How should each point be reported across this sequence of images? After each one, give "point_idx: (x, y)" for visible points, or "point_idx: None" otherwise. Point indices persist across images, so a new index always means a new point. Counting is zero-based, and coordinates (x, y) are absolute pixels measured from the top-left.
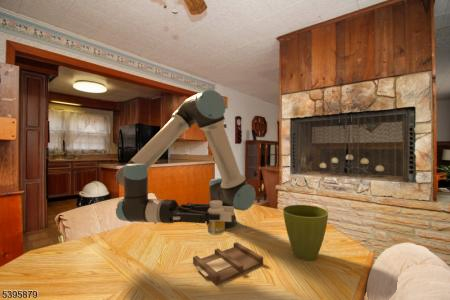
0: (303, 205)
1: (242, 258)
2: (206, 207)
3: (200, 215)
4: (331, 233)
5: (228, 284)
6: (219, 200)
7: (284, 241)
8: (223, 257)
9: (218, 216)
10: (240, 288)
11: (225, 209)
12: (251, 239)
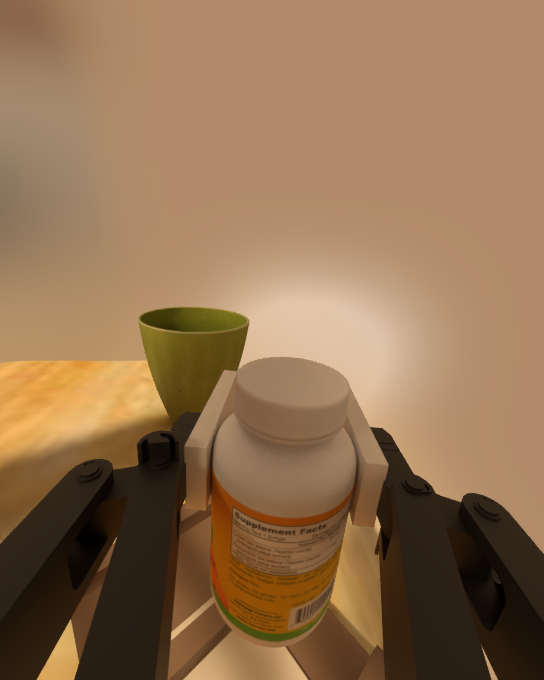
0: (149, 312)
1: (197, 557)
2: (171, 533)
3: (526, 541)
4: (115, 366)
5: (362, 622)
6: (248, 363)
7: (106, 432)
8: (200, 654)
9: (384, 437)
10: (365, 572)
11: (226, 410)
12: (17, 520)
